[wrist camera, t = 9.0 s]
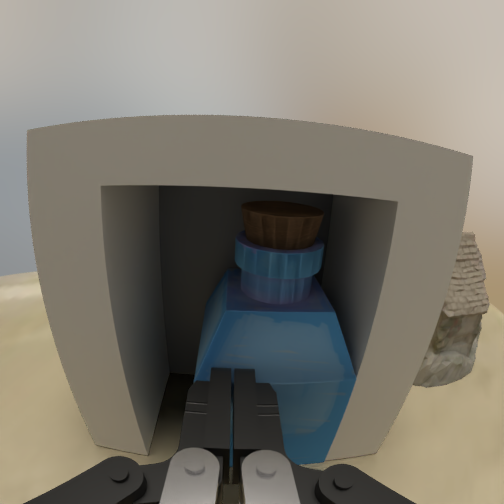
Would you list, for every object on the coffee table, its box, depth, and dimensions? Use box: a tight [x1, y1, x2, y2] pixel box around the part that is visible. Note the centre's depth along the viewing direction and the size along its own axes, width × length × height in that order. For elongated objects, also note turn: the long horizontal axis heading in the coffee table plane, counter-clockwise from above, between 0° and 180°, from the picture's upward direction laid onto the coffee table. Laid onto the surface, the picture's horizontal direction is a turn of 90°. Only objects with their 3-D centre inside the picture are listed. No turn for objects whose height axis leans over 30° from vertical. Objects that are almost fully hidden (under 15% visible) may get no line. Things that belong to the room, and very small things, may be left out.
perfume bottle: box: [194, 201, 357, 467], centre depth 14 cm, size 6×6×12 cm
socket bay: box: [27, 115, 473, 461], centre depth 15 cm, size 15×9×15 cm, turn 92°
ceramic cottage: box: [412, 232, 489, 388], centre depth 23 cm, size 16×16×15 cm
